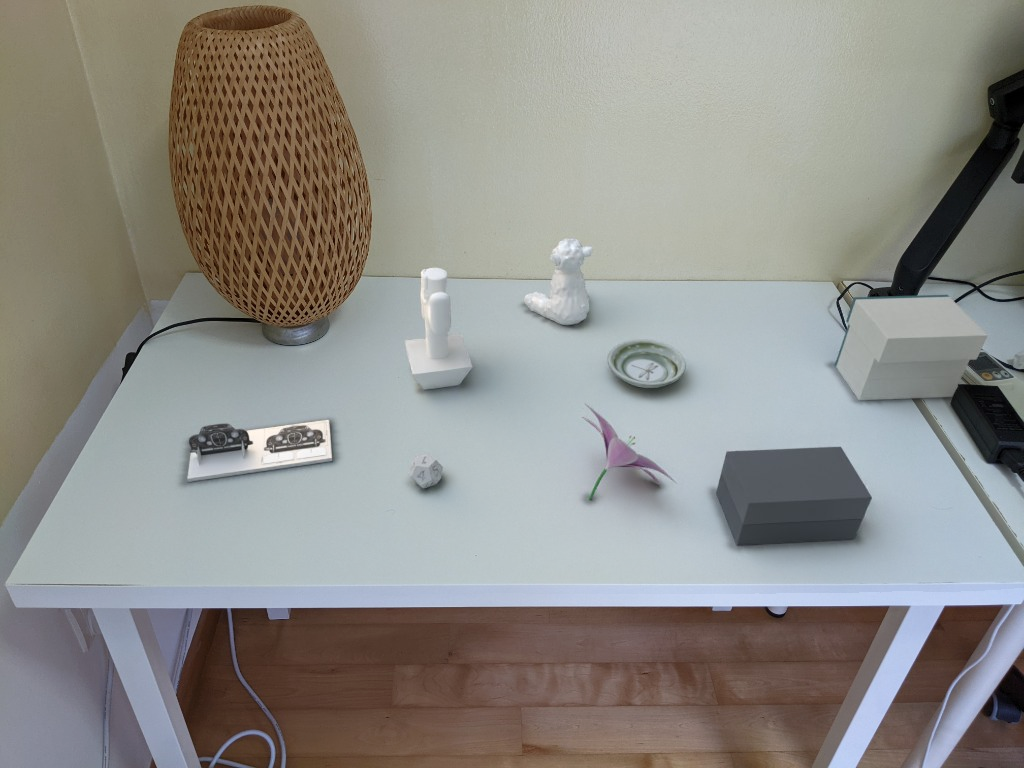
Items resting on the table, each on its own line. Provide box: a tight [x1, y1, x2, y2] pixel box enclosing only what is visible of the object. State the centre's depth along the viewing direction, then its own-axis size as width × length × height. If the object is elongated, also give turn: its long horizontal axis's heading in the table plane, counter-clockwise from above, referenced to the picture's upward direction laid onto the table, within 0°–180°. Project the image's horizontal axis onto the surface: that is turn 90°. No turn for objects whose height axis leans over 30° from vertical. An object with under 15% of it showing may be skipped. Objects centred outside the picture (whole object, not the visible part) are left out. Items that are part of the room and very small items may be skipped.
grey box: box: [715, 446, 873, 546], centre depth 77 cm, size 12×7×6 cm, turn 94°
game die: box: [407, 453, 444, 489], centre depth 82 cm, size 4×4×3 cm
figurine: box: [403, 267, 474, 391], centre depth 92 cm, size 7×9×15 cm
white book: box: [846, 294, 989, 363], centre depth 93 cm, size 12×9×4 cm
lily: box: [581, 402, 678, 501], centre depth 80 cm, size 12×12×10 cm
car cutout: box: [186, 419, 333, 483], centre depth 84 cm, size 15×7×4 cm, turn 103°
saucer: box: [606, 338, 687, 389], centre depth 97 cm, size 10×10×2 cm
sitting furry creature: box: [524, 237, 594, 326], centre depth 105 cm, size 10×9×12 cm
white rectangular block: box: [834, 323, 970, 401], centre depth 96 cm, size 12×7×6 cm, turn 94°
